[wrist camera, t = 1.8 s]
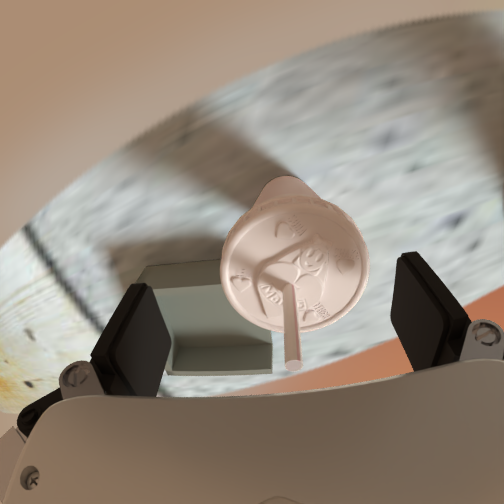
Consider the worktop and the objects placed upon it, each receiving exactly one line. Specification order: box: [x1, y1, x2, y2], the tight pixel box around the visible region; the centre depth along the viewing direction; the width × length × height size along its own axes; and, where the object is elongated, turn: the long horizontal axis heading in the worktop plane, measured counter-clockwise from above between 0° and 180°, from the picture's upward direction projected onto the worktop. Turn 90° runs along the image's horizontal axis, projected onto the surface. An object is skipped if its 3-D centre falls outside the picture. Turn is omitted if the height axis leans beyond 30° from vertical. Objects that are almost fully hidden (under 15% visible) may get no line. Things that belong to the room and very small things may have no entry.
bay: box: [135, 259, 273, 376], centre depth 24 cm, size 9×9×4 cm
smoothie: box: [220, 176, 370, 371], centre depth 15 cm, size 6×6×14 cm
